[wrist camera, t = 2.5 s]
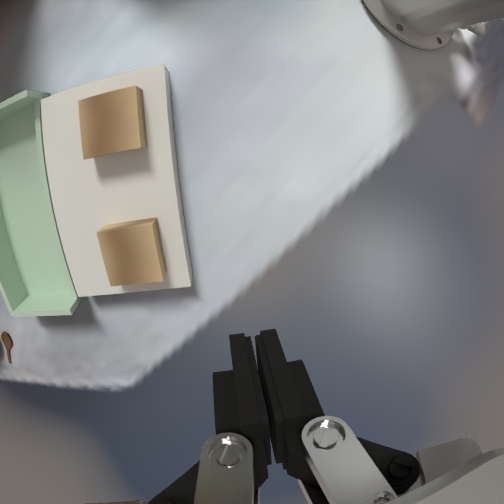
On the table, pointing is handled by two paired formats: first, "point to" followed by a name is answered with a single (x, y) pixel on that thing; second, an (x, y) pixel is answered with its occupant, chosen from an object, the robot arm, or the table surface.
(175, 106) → the table surface
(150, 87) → the board
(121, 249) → the tile
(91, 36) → the table surface
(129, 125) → the tile
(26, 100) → the tray
